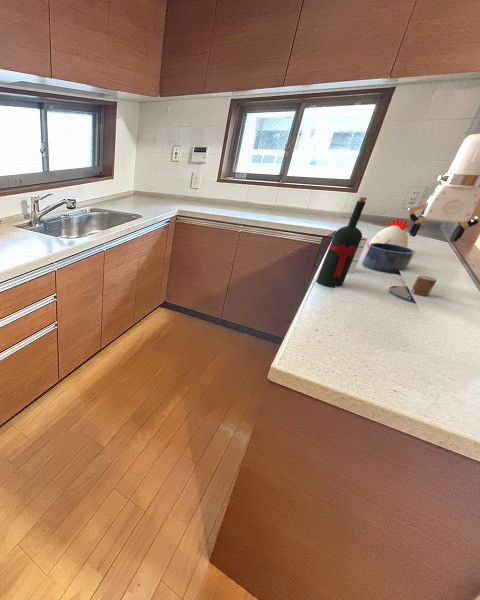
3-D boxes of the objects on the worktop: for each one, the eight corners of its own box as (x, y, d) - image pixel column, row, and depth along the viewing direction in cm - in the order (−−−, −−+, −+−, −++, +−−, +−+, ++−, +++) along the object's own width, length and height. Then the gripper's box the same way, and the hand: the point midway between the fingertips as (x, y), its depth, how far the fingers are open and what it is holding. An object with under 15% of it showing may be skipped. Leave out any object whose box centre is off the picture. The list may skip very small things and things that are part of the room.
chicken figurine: (389, 255, 148) (404, 222, 141) (360, 246, 160) (373, 216, 153) (412, 254, 150) (428, 222, 144) (382, 245, 162) (396, 215, 156)
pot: (400, 265, 136) (410, 245, 133) (408, 278, 122) (419, 257, 119) (360, 258, 143) (368, 239, 140) (363, 270, 129) (372, 250, 126)
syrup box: (353, 273, 126) (369, 237, 119) (337, 272, 127) (351, 236, 120) (345, 268, 131) (360, 233, 125) (329, 267, 132) (343, 232, 125)
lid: (442, 296, 109) (453, 276, 105) (454, 313, 98) (467, 291, 95) (385, 285, 116) (394, 266, 113) (390, 299, 105) (400, 279, 102)
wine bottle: (318, 287, 113) (352, 199, 100) (314, 277, 121) (345, 194, 108) (346, 292, 110) (385, 201, 97) (339, 281, 118) (374, 197, 105)
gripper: (427, 179, 96) (399, 236, 103) (511, 185, 88) (475, 245, 96) (418, 177, 101) (393, 231, 109) (497, 182, 94) (464, 239, 102)
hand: (431, 238), depth 102 cm, fingers open, 9 cm apart
